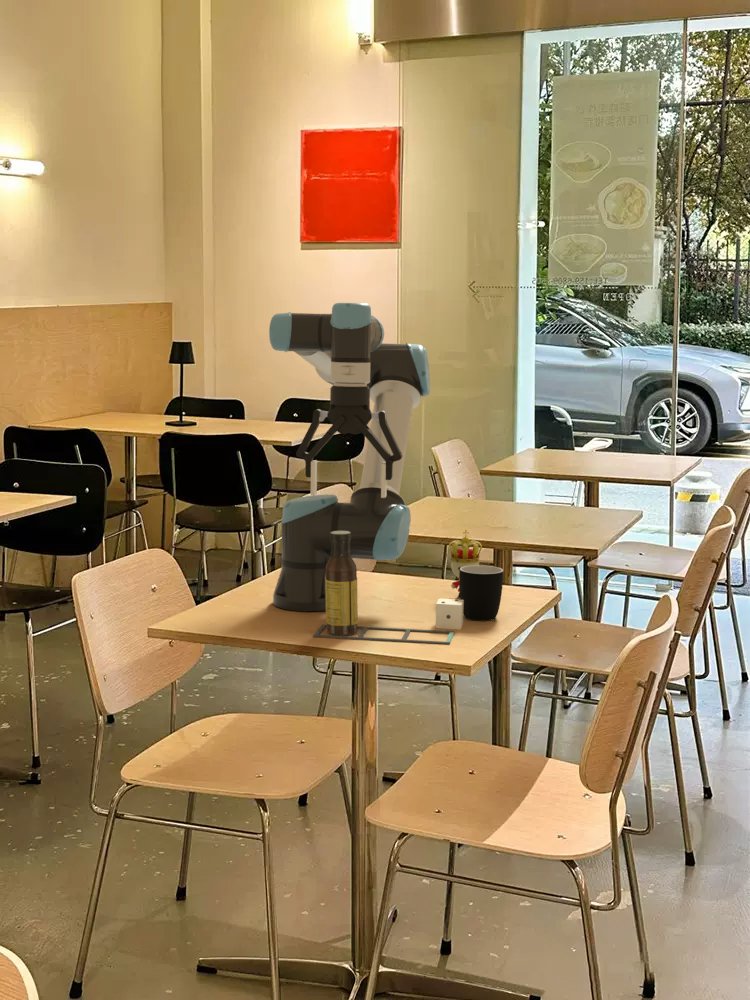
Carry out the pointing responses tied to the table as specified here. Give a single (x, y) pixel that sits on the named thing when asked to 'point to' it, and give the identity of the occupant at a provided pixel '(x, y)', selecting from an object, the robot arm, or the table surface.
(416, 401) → the robot arm
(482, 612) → the mug
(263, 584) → the table surface
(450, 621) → the die
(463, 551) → the toy
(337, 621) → the sauce bottle
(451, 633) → the board
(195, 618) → the table surface
